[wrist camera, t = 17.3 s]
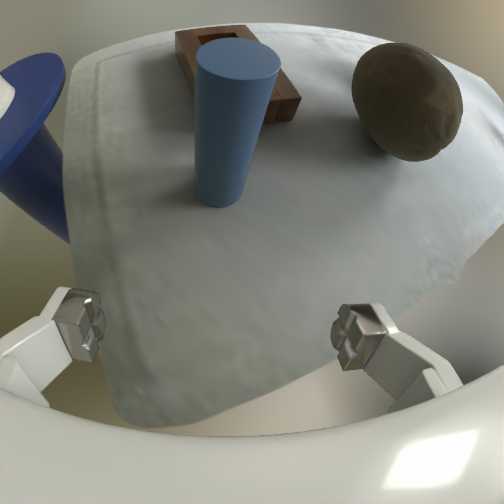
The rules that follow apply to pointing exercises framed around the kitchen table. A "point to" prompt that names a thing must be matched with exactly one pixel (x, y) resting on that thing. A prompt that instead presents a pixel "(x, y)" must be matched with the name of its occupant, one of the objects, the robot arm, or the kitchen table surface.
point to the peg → (229, 113)
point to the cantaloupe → (406, 101)
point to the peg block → (191, 40)
